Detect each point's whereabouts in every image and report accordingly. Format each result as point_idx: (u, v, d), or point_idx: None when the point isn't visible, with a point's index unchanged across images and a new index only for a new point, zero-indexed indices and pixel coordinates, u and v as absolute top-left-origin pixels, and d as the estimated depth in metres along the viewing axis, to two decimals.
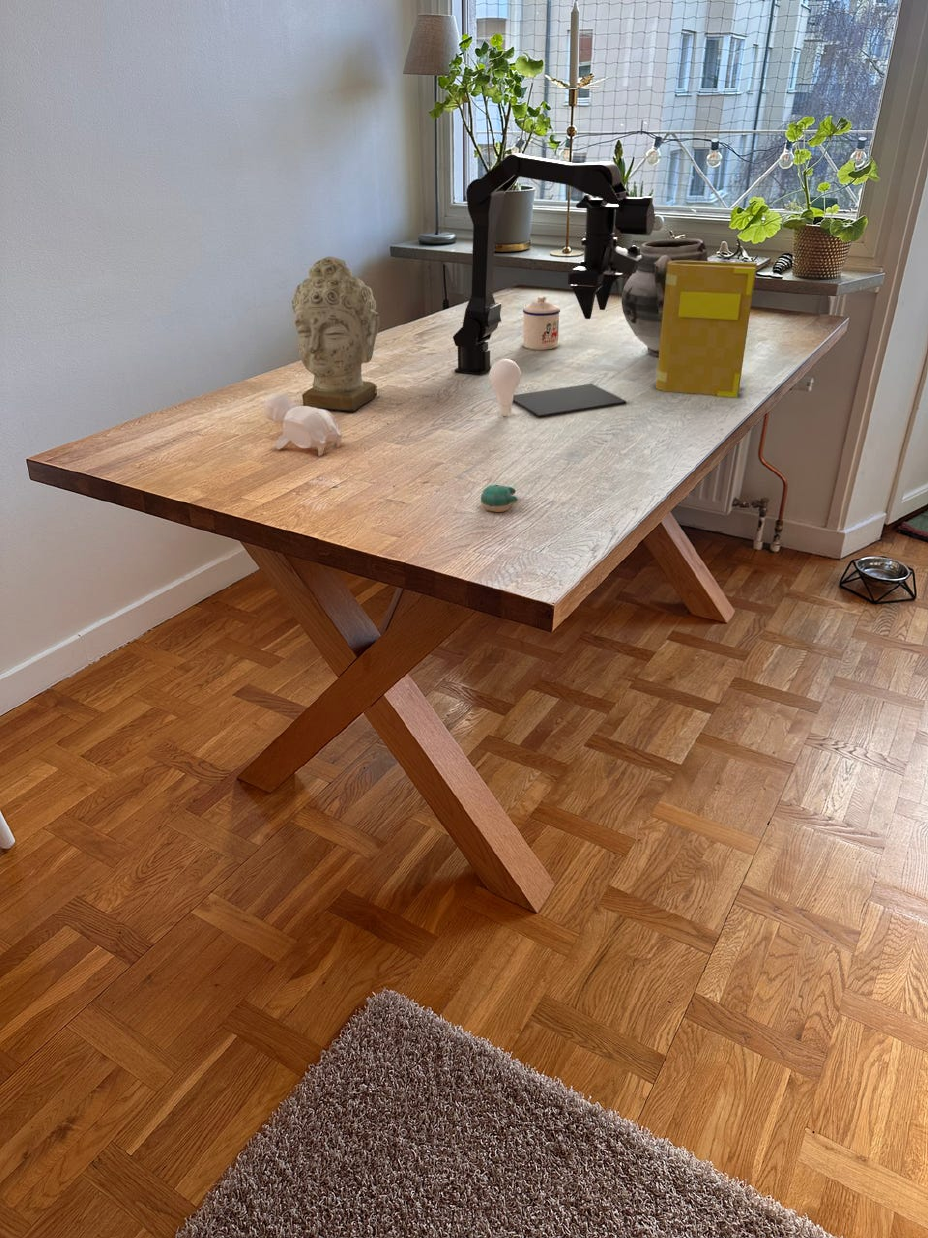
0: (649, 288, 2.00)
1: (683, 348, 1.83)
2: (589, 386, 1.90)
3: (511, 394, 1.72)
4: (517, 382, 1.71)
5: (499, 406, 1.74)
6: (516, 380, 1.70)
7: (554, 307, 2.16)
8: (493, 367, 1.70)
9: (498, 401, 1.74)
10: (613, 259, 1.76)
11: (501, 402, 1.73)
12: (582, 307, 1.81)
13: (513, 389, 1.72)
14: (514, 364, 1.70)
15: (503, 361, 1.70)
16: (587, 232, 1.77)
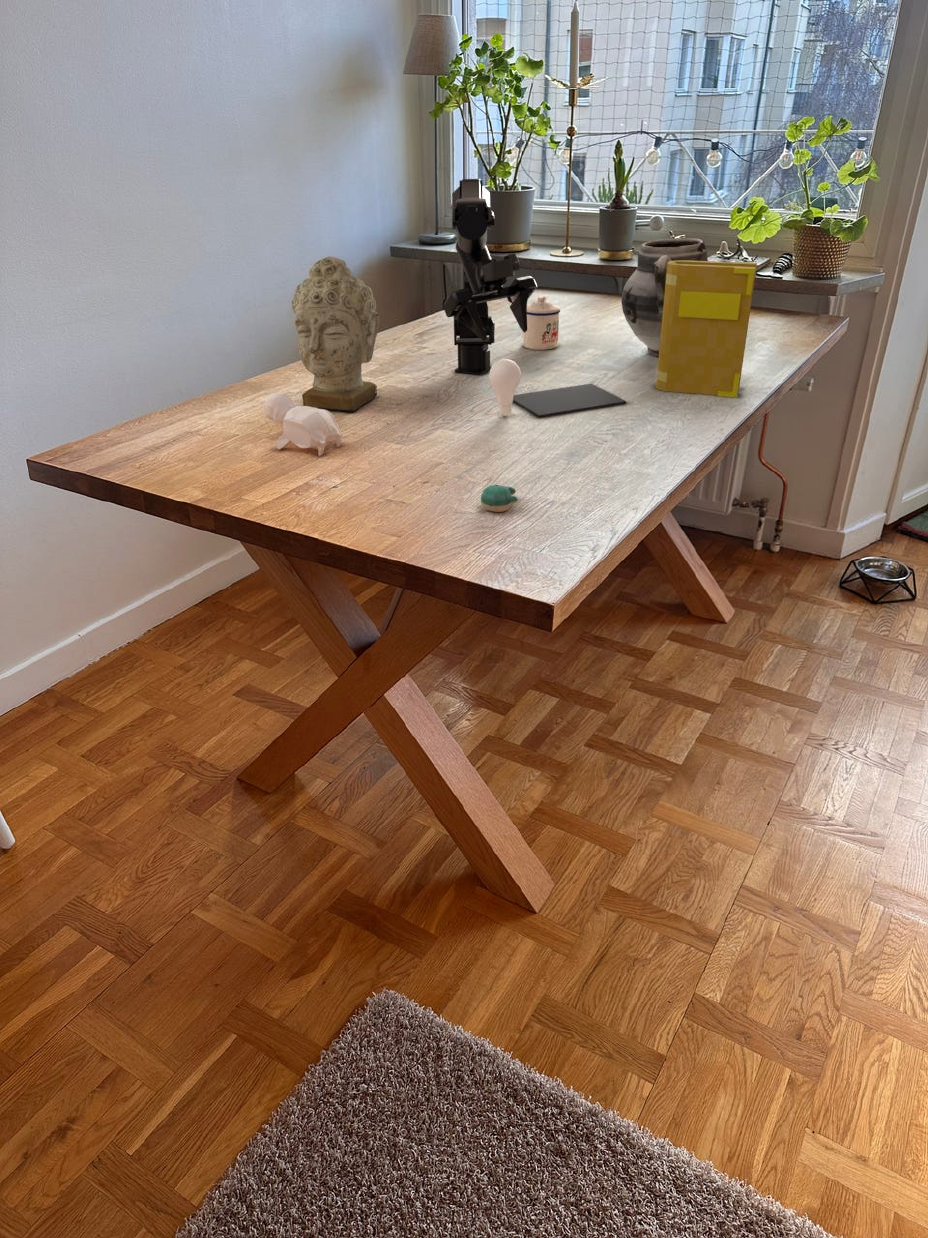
0: (649, 288, 2.00)
1: (683, 348, 1.83)
2: (589, 386, 1.90)
3: (511, 394, 1.72)
4: (517, 382, 1.71)
5: (499, 406, 1.74)
6: (516, 380, 1.70)
7: (554, 307, 2.16)
8: (493, 367, 1.70)
9: (498, 401, 1.74)
10: (480, 274, 1.71)
11: (501, 402, 1.73)
12: (475, 332, 1.74)
13: (513, 389, 1.72)
14: (514, 364, 1.70)
15: (503, 361, 1.70)
16: None
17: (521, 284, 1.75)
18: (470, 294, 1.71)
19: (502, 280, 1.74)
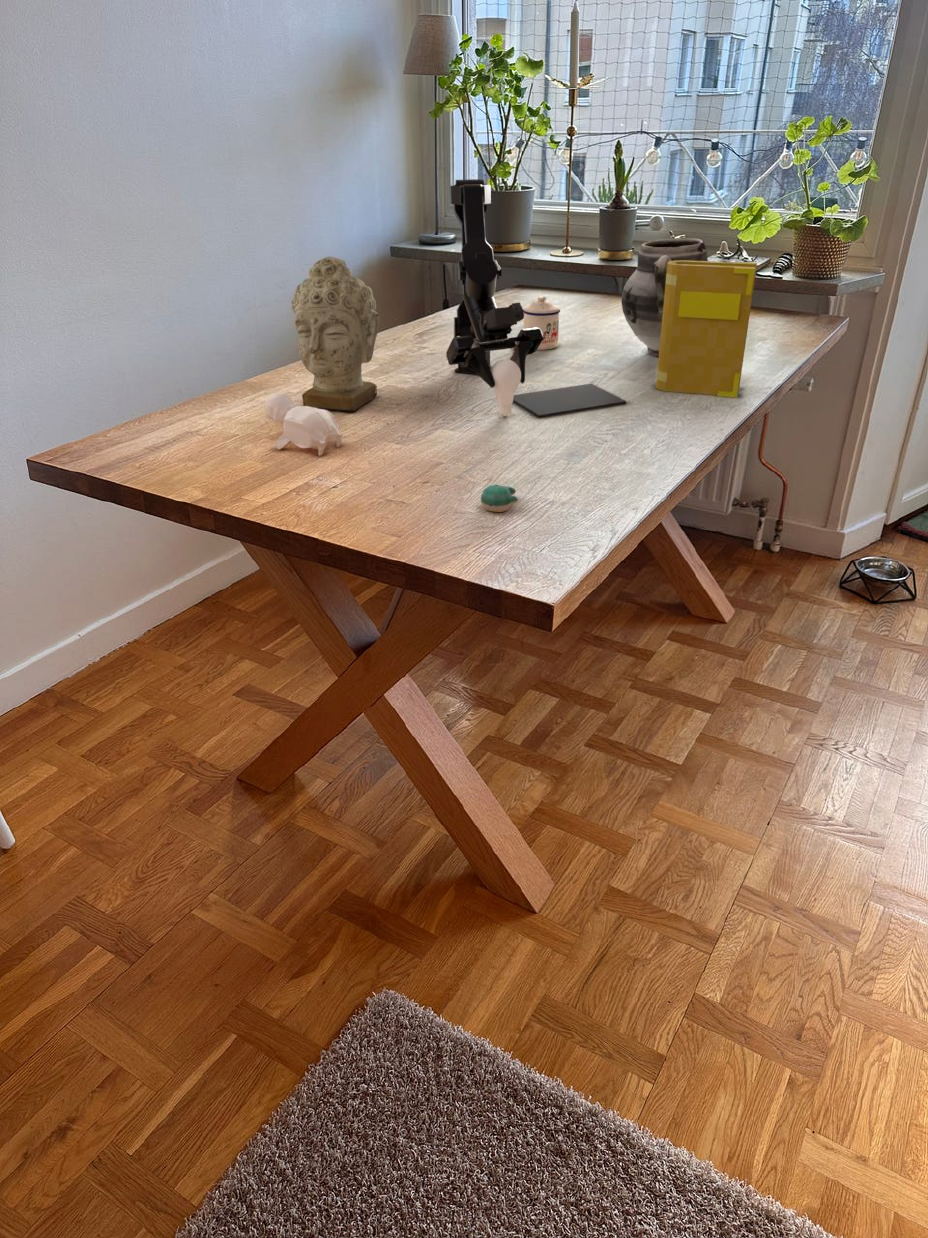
0: (649, 288, 2.00)
1: (683, 348, 1.83)
2: (589, 386, 1.90)
3: (511, 394, 1.72)
4: (517, 382, 1.71)
5: (499, 406, 1.74)
6: (516, 380, 1.70)
7: (554, 307, 2.16)
8: (493, 367, 1.70)
9: (498, 401, 1.74)
10: (484, 321, 1.69)
11: (501, 402, 1.73)
12: (484, 378, 1.71)
13: (513, 389, 1.72)
14: (514, 364, 1.70)
15: (503, 361, 1.70)
16: None
17: (526, 334, 1.72)
18: (472, 341, 1.68)
19: (507, 329, 1.71)
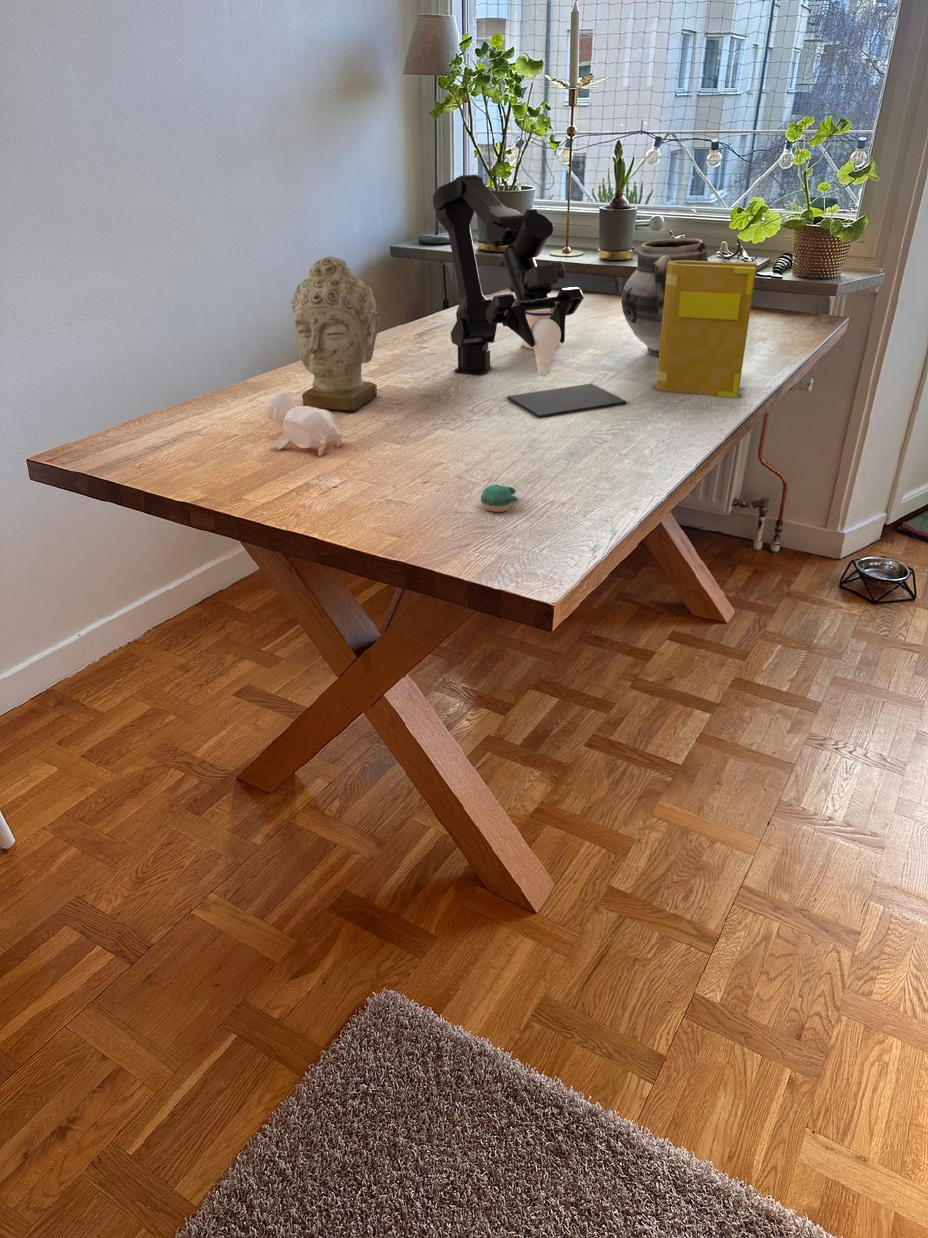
0: (649, 288, 2.00)
1: (683, 348, 1.83)
2: (589, 386, 1.90)
3: (551, 354, 1.72)
4: (557, 341, 1.70)
5: (538, 366, 1.74)
6: (556, 340, 1.70)
7: None
8: (533, 326, 1.70)
9: (537, 361, 1.73)
10: (524, 280, 1.68)
11: (540, 362, 1.73)
12: (523, 338, 1.71)
13: (553, 349, 1.71)
14: (554, 323, 1.69)
15: (543, 320, 1.69)
16: None
17: (567, 293, 1.72)
18: (512, 299, 1.68)
19: (547, 288, 1.71)
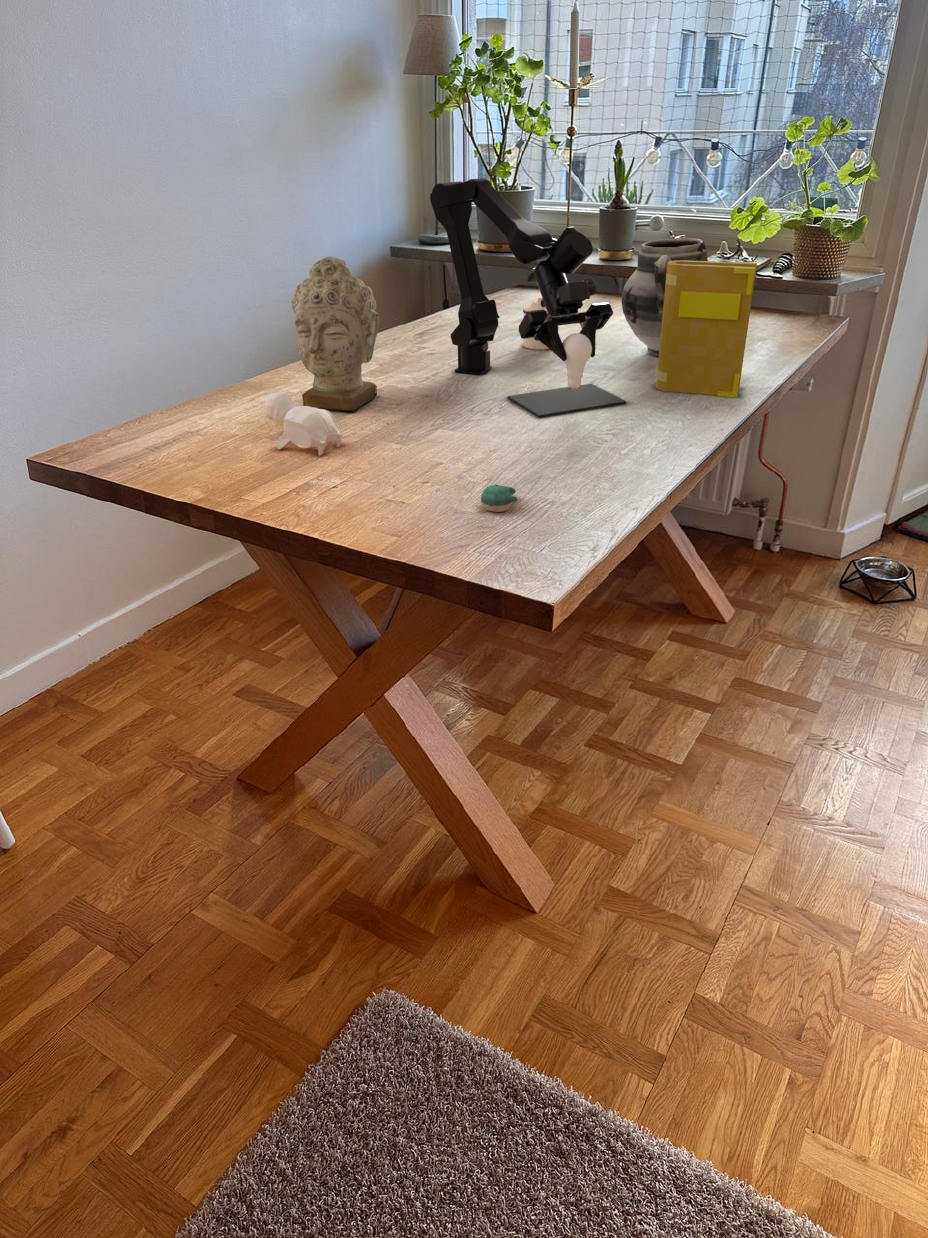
0: (649, 288, 2.00)
1: (683, 348, 1.83)
2: (589, 386, 1.90)
3: (582, 368, 1.76)
4: (588, 356, 1.75)
5: (569, 379, 1.78)
6: (587, 354, 1.74)
7: None
8: (565, 341, 1.74)
9: (568, 374, 1.77)
10: (557, 296, 1.73)
11: (571, 375, 1.77)
12: (555, 352, 1.75)
13: (584, 363, 1.75)
14: (586, 338, 1.74)
15: (575, 335, 1.74)
16: (540, 292, 1.78)
17: (597, 309, 1.76)
18: (545, 315, 1.72)
19: (578, 304, 1.75)
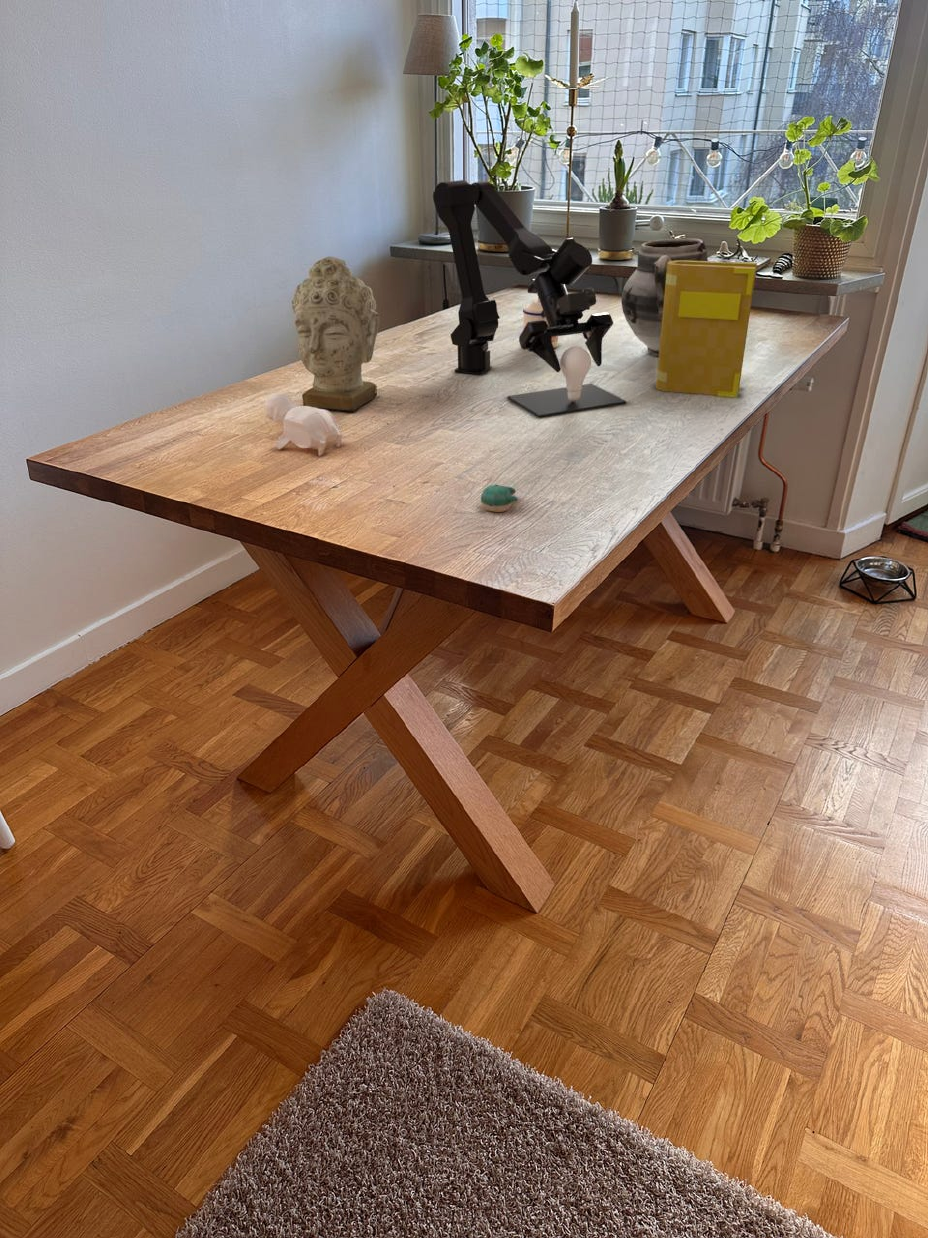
0: (649, 288, 2.00)
1: (683, 348, 1.83)
2: (589, 386, 1.90)
3: (581, 381, 1.77)
4: (587, 369, 1.76)
5: (569, 392, 1.79)
6: (587, 367, 1.75)
7: None
8: (564, 354, 1.75)
9: (568, 387, 1.79)
10: (557, 307, 1.74)
11: (571, 388, 1.78)
12: (549, 363, 1.76)
13: (583, 376, 1.77)
14: (585, 351, 1.75)
15: (574, 348, 1.75)
16: None
17: (597, 319, 1.77)
18: (545, 325, 1.73)
19: (578, 314, 1.76)
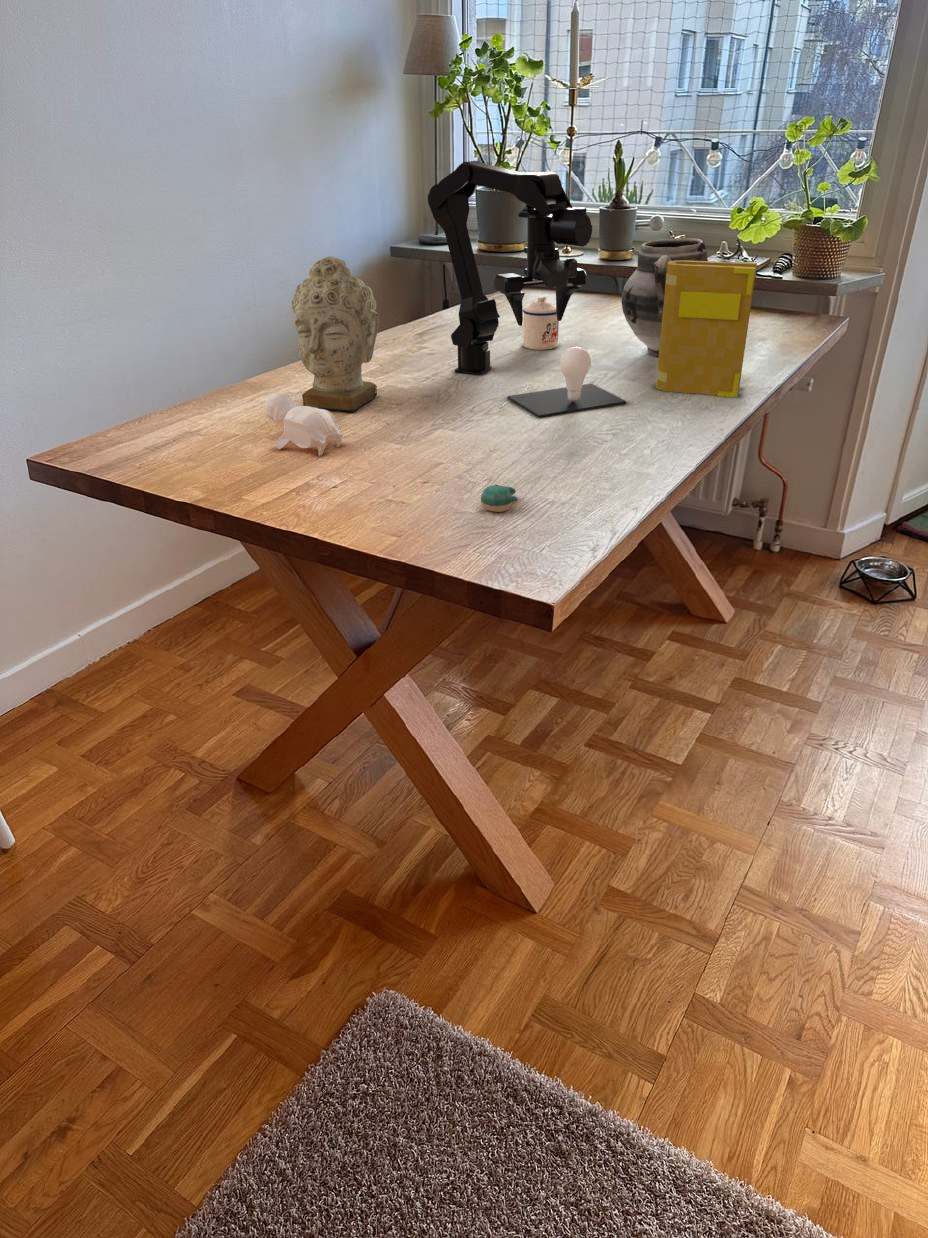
0: (649, 288, 2.00)
1: (683, 348, 1.83)
2: (589, 386, 1.90)
3: (581, 381, 1.78)
4: (587, 369, 1.76)
5: (568, 392, 1.79)
6: (586, 367, 1.75)
7: (554, 307, 2.16)
8: (564, 354, 1.75)
9: (568, 387, 1.79)
10: (538, 269, 1.77)
11: (571, 388, 1.78)
12: (514, 313, 1.85)
13: (583, 376, 1.77)
14: (585, 351, 1.75)
15: (574, 348, 1.75)
16: (527, 241, 1.78)
17: (572, 281, 1.82)
18: (521, 286, 1.78)
19: None
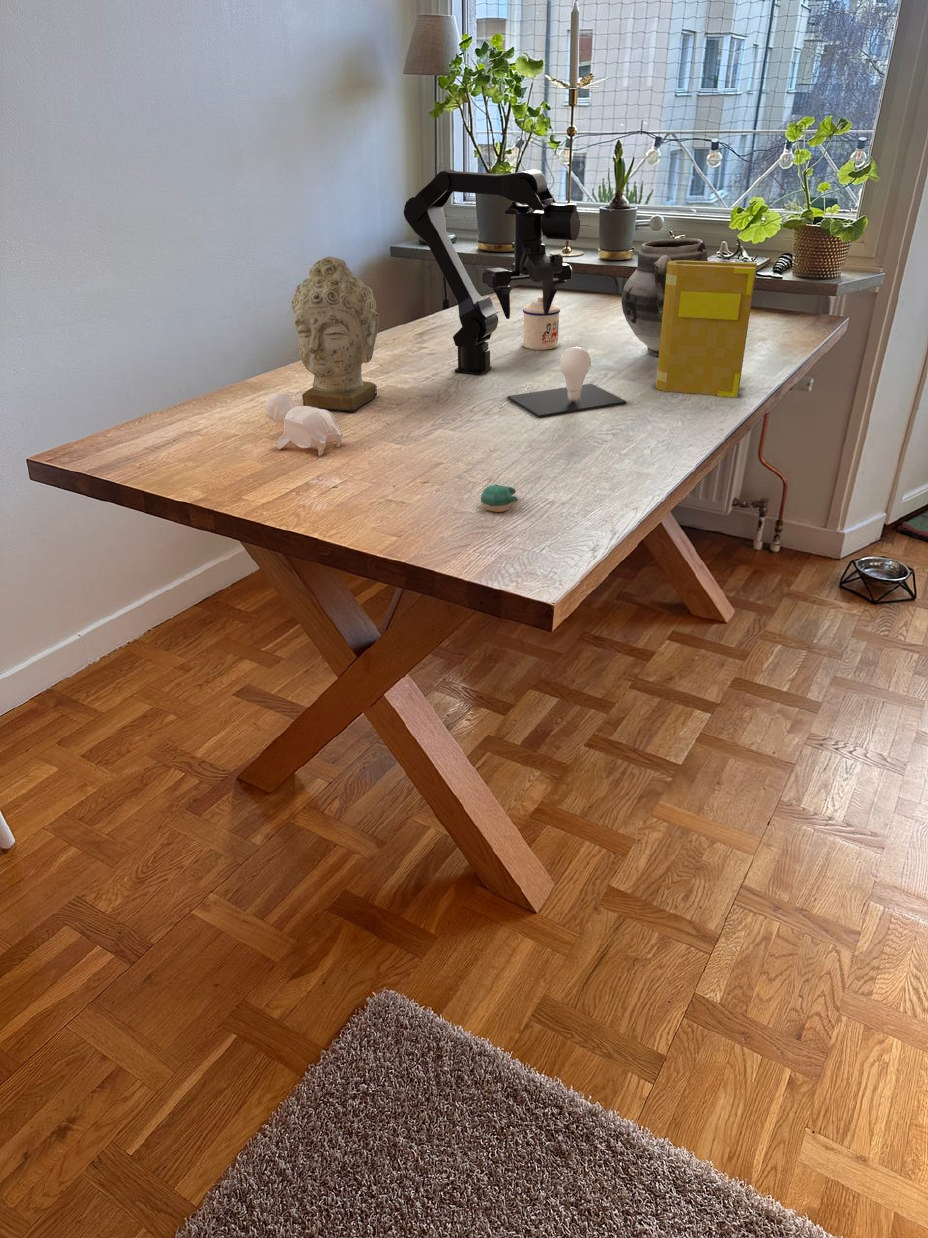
0: (649, 288, 2.00)
1: (683, 348, 1.83)
2: (589, 386, 1.90)
3: (581, 381, 1.77)
4: (587, 369, 1.76)
5: (568, 392, 1.79)
6: (586, 367, 1.75)
7: (554, 307, 2.16)
8: (564, 354, 1.75)
9: (568, 387, 1.79)
10: (525, 264, 1.83)
11: (571, 388, 1.78)
12: (502, 306, 1.90)
13: (583, 376, 1.77)
14: (585, 351, 1.75)
15: (574, 348, 1.75)
16: (516, 237, 1.83)
17: (558, 275, 1.88)
18: (508, 280, 1.84)
19: None
